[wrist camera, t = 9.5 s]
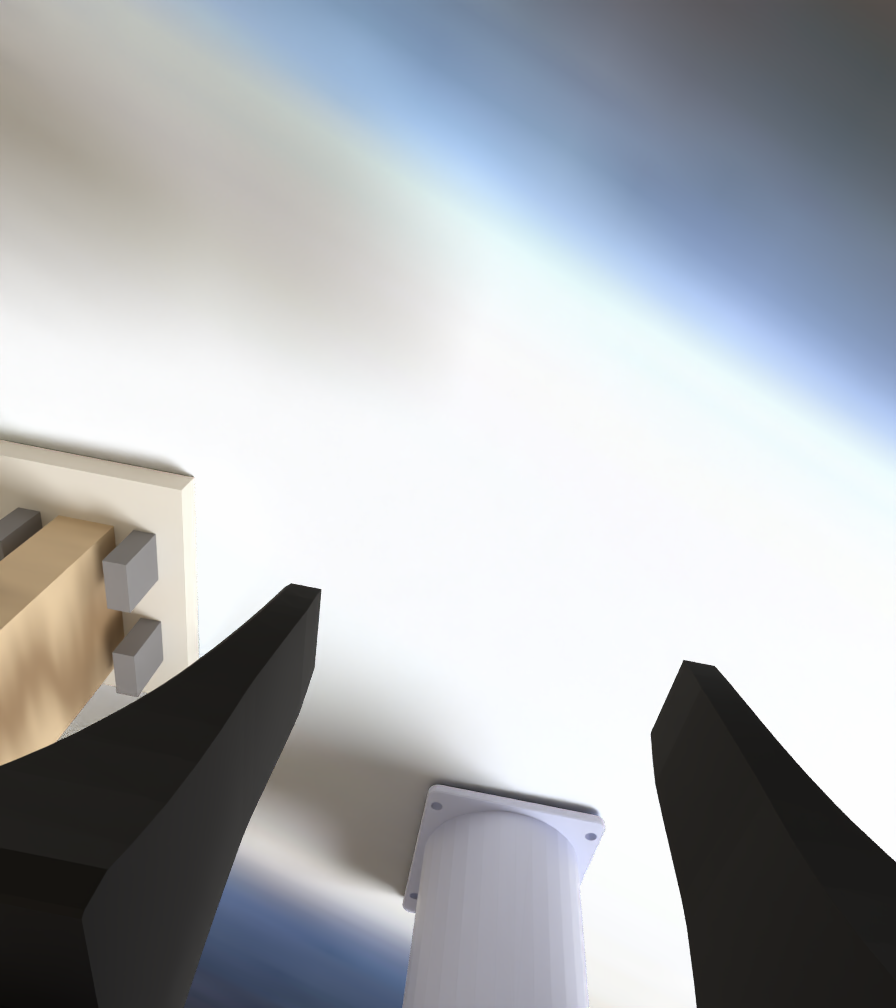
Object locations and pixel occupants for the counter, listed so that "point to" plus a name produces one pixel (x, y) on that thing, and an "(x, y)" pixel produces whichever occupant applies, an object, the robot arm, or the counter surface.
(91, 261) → the counter surface
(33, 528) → the cream pegged base plate
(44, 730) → the wooden block
